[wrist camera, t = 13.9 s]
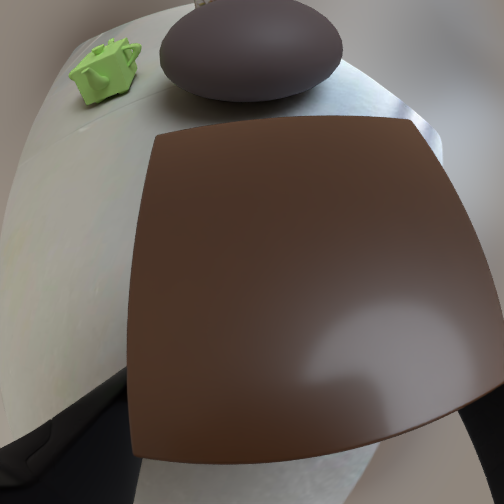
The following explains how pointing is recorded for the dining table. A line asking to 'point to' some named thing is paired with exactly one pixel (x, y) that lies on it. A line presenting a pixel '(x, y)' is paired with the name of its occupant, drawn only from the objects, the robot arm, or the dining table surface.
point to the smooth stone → (250, 50)
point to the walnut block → (302, 292)
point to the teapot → (106, 70)
